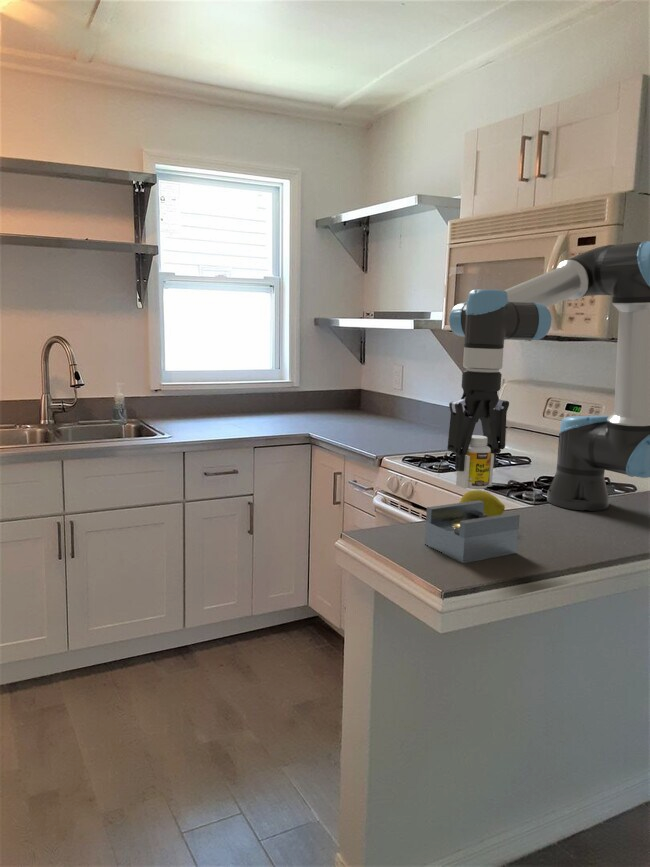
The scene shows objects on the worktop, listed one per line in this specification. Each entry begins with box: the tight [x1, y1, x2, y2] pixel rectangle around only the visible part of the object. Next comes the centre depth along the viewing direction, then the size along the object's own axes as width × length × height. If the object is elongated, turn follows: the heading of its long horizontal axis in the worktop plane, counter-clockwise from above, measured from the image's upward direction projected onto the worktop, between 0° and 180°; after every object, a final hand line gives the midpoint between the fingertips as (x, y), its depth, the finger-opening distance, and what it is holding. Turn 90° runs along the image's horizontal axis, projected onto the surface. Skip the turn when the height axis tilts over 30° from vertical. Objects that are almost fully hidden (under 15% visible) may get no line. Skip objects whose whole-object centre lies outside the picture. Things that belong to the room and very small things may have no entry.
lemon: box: [458, 489, 506, 517], centre depth 154 cm, size 11×8×8 cm
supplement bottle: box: [466, 434, 491, 490], centre depth 135 cm, size 6×6×10 cm
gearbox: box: [424, 500, 521, 564], centre depth 138 cm, size 14×12×8 cm
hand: (474, 485), depth 136 cm, fingers closed on supplement bottle, 6 cm apart
